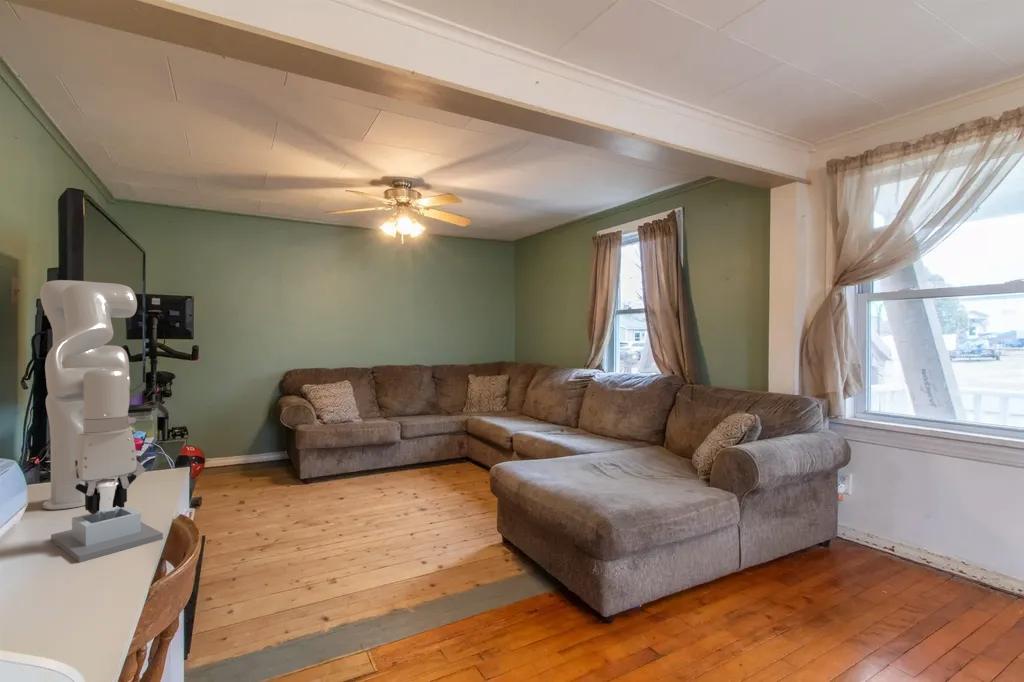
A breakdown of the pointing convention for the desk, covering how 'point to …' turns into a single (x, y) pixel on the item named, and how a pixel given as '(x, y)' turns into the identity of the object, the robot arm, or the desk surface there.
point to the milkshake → (106, 498)
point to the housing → (105, 534)
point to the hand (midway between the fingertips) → (106, 508)
